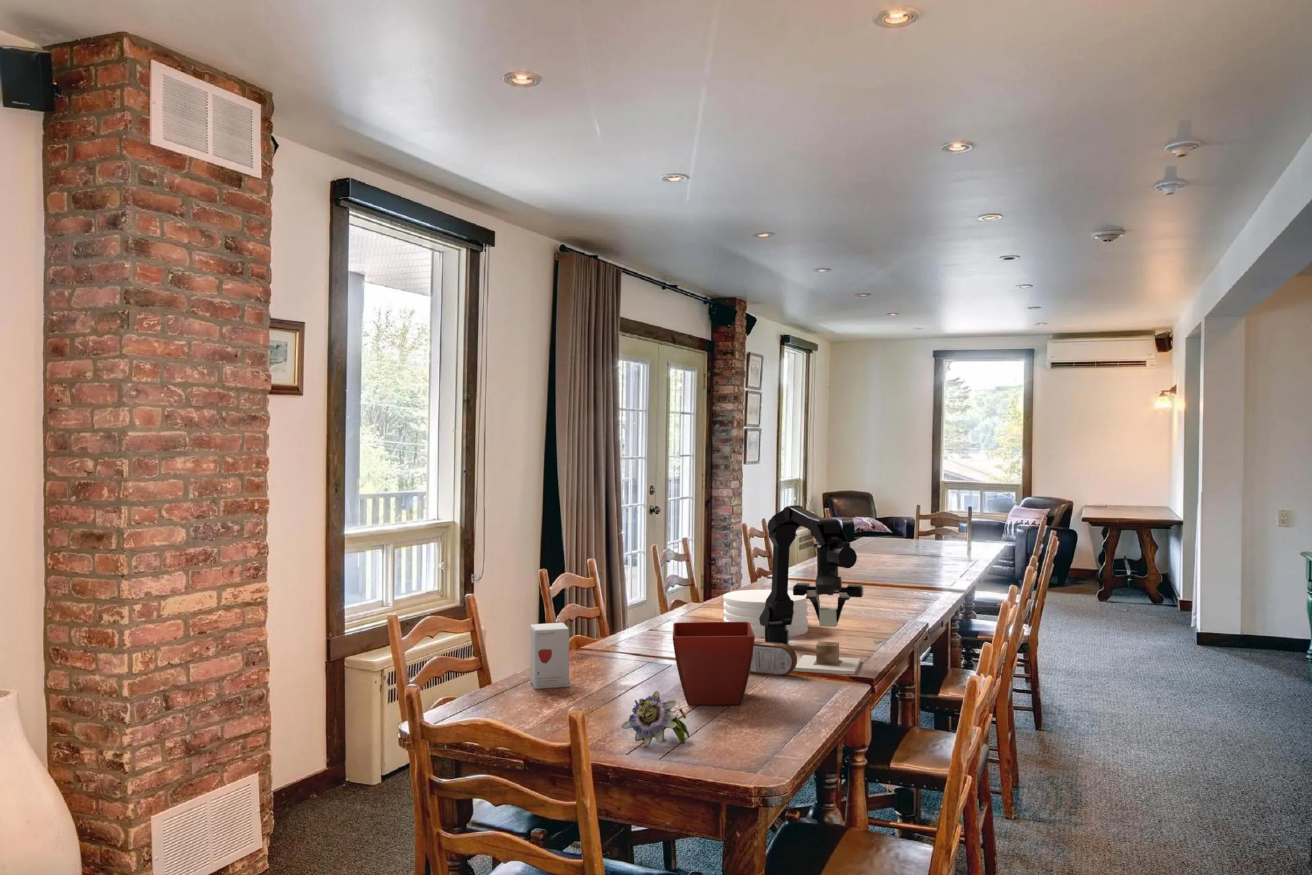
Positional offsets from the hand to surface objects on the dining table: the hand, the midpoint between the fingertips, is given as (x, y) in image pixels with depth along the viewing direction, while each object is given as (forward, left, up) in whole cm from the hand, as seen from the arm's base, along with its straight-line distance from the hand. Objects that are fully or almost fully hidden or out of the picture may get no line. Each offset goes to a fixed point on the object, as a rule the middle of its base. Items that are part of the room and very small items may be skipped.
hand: (828, 621), depth 255 cm
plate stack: (-28, +48, -13) cm, 57 cm away
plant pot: (-22, -41, -13) cm, 49 cm away
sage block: (0, 0, -1) cm, 1 cm away
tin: (-14, -13, -13) cm, 23 cm away
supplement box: (-66, -39, -13) cm, 78 cm away
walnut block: (0, 0, -11) cm, 11 cm away
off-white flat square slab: (0, 0, -12) cm, 12 cm away
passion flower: (-25, -77, -13) cm, 82 cm away
